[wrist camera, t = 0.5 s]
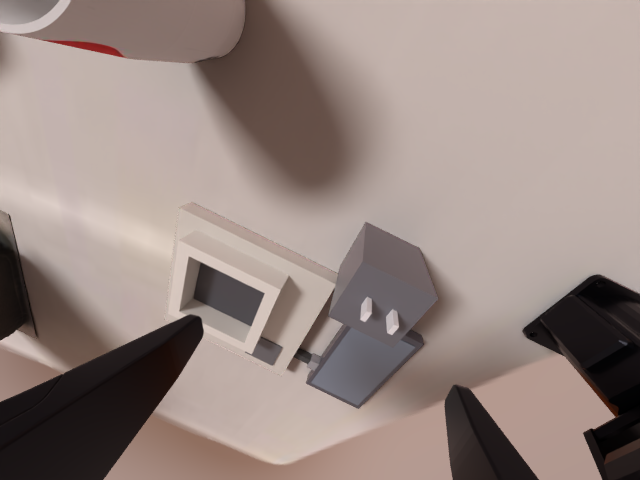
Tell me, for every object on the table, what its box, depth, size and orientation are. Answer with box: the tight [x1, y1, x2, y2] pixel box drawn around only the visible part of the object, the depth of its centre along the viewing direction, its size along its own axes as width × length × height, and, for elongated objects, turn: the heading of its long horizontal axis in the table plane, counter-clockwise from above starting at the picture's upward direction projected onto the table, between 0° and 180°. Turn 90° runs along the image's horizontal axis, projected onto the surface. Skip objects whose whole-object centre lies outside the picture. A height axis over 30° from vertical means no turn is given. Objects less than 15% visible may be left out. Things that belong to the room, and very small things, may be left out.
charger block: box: [328, 222, 438, 348], centre depth 16 cm, size 4×4×7 cm
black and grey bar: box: [293, 348, 321, 371], centre depth 25 cm, size 3×1×1 cm, turn 67°
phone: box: [306, 324, 424, 409], centre depth 23 cm, size 6×12×1 cm, turn 157°
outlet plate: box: [164, 202, 338, 376], centre depth 22 cm, size 14×14×4 cm
